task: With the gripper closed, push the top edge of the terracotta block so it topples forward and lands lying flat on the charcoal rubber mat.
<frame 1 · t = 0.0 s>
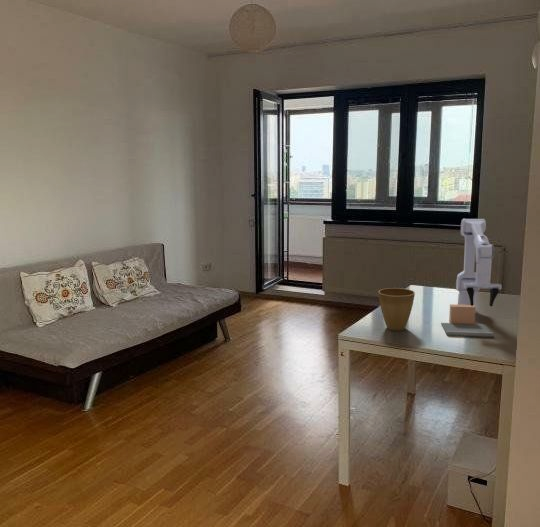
hand: (481, 305, 226), 10 cm above the table, fingers open, 7 cm apart
mat: (466, 330, 226), on the table
terracotta block: (461, 323, 236), on the table
plant pot: (395, 328, 230), on the table
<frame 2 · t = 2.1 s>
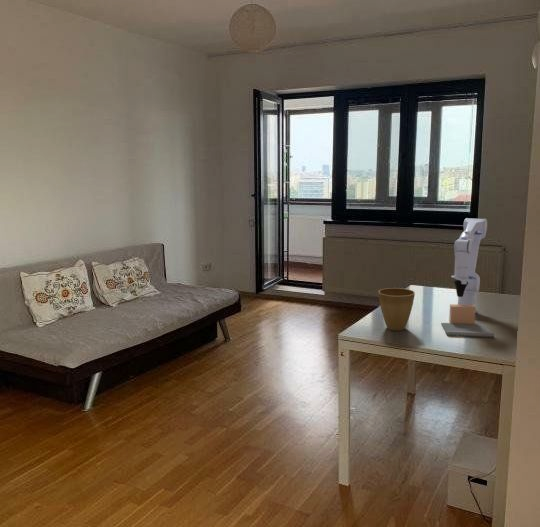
hand: (459, 296, 240), 10 cm above the table, fingers closed
nothing on the table moved.
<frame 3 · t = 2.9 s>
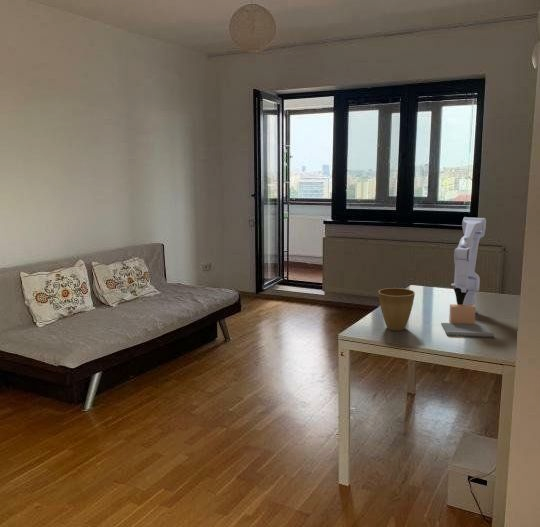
hand: (459, 304, 240), 7 cm above the table, fingers closed
nothing on the table moved.
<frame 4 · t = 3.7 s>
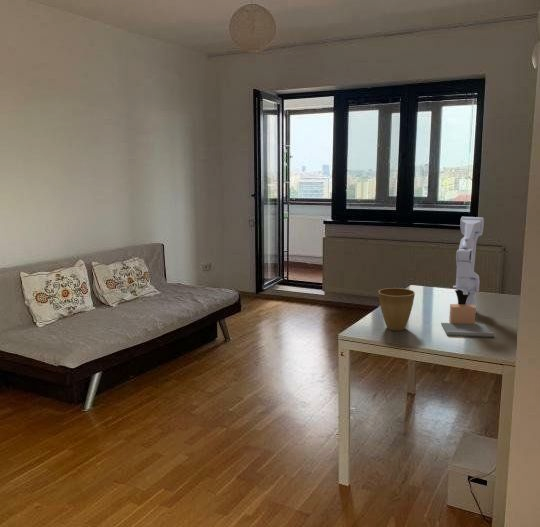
hand: (461, 306, 236), 7 cm above the table, fingers closed
terracotta block: (461, 323, 236), on the table, tilted 5°, touching gripper
everything else where it was.
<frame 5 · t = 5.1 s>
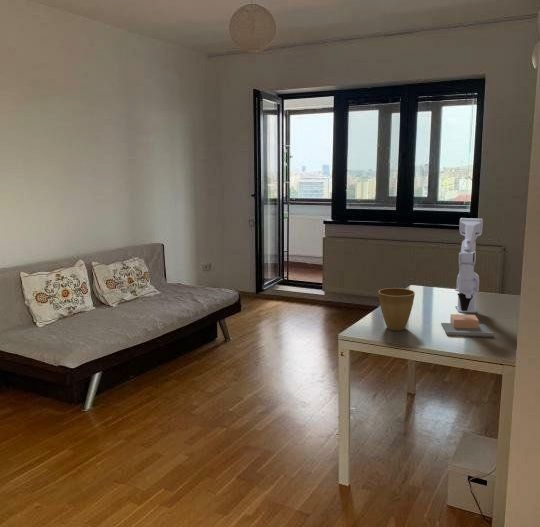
hand: (464, 310, 231), 7 cm above the table, fingers closed
terracotta block: (462, 318, 234), point 2 cm above the table, tilted 90°, touching mat
everything else where it was.
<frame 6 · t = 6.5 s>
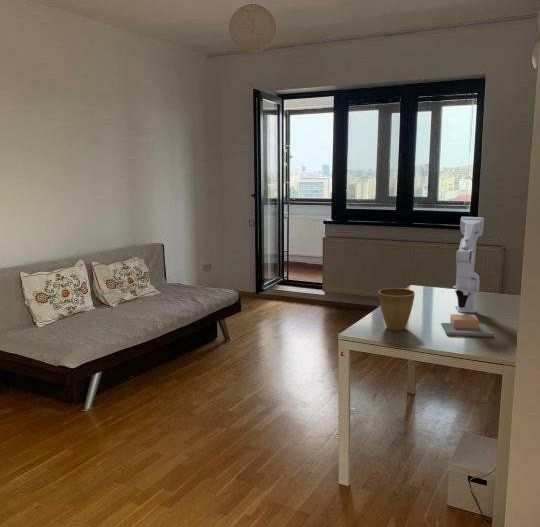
hand: (461, 307, 236), 7 cm above the table, fingers closed
nothing on the table moved.
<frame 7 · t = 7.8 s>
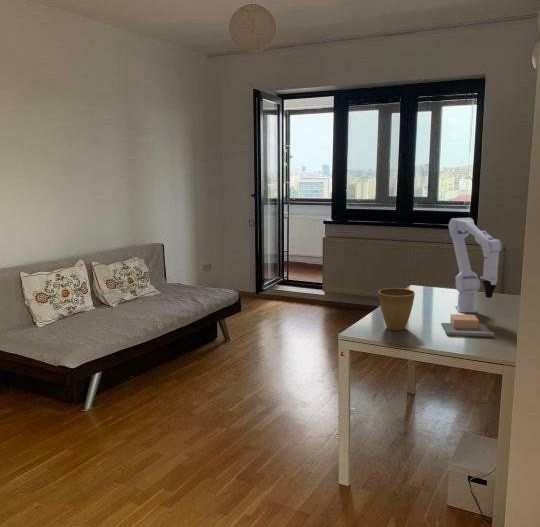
hand: (488, 297, 238), 10 cm above the table, fingers closed
nothing on the table moved.
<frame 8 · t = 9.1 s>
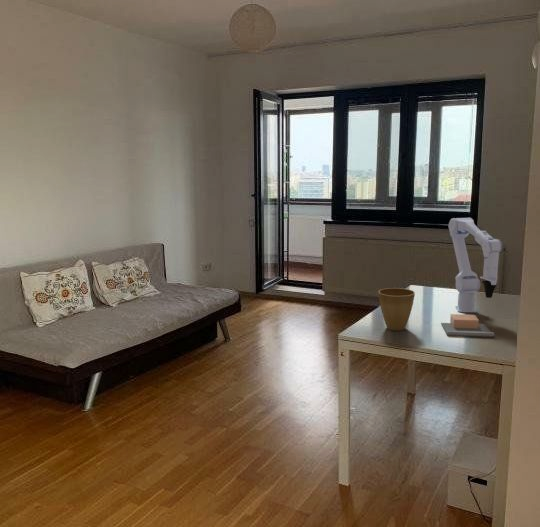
hand: (488, 297, 238), 10 cm above the table, fingers closed
nothing on the table moved.
at the end: terracotta block tilted 90°; terracotta block inside the target area (5.1 cm from its centre), point 2.4 cm above the table; terracotta block touching mat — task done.
